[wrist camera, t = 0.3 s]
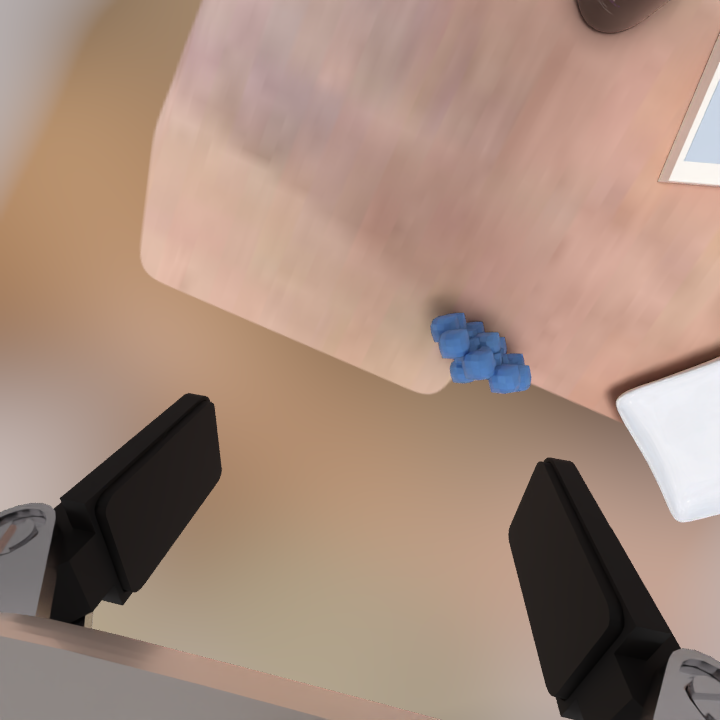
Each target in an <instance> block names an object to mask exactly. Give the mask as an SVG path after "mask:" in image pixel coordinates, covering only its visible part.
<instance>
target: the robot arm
mask: <svg viewBox="0 0 720 720" xmlns="http://www.w3.org/2000/svg"><path fill="white" fill-rule="evenodd" d="M221 471H222V468H221V459H220V451H219V442H218V433H217V425H216V416H215V408H214V404H213V403H212V402H210V400H209V398H208V397H206V396H201V395H196V394H191V393H188V394H185V395H184V396H182V397H181V398H180V399H179V400H178V401H176V402H175V403H174V404H173V405H172V406H170V407H169V408H168V409H167V410H166V411H164V412H163V413H162V414H161V415H159V416H158V417H157V418H156V419H155V420H153V421H152V422H151V423H150V424H149V425H147V426H146V427H145V428H144V429H143V430H141V431H140V432H139V433H138V434H137V435H136V436H134V437H133V438H132V439H131V440H129V441H128V442H127V443H126V444H125V445H123V446H122V447H121V448H120V449H119V450H118V451H116V452H115V453H114V454H113V455H111V456H110V457H109V458H108V459H107V460H105V461H104V462H103V463H102V464H100V465H99V466H98V467H97V468H96V469H94V470H93V471H92V472H91V473H90V474H88V475H87V476H86V477H85V478H84V479H82V480H81V481H80V482H79V483H78V484H76V485H75V486H74V487H73V488H72V489H71V490H69V491H68V492H67V493H66V494H64V495H63V496H62V497H61V498H60V500H61V503H60V504H59V505H58V506H56V507H55V508H54V509H53V508H52V507H51V506H50V505H46V504H44V503H29V504H24V505H18V506H15V507H13V508H10V509H7V510H4V511H2V512H0V720H441V719H437V718H433V717H429V716H426V715H422V714H418V713H415V712H411V711H407V710H403V709H400V708H396V707H392V706H389V705H385V704H381V703H377V702H374V701H370V700H366V699H362V698H359V697H355V696H351V695H347V694H343V693H340V692H336V691H332V690H328V689H324V688H321V687H317V686H313V685H309V684H306V683H302V682H298V681H294V680H290V679H286V678H283V677H279V676H275V675H271V674H267V673H264V672H259V671H256V670H252V669H248V668H244V667H241V666H237V665H233V664H229V663H226V662H222V661H218V660H214V659H210V658H206V657H202V656H198V655H194V654H190V653H187V652H183V651H179V650H175V649H171V648H167V647H163V646H159V645H156V644H152V643H148V642H144V641H140V640H136V639H132V638H128V637H124V636H120V635H116V634H112V633H107V632H103V631H99V630H95V629H92V620H93V611H94V609H95V608H96V607H97V606H98V604H99V603H100V602H101V600H104V601H107V602H111V603H115V604H119V605H124V603H125V602H126V601H127V599H128V598H129V596H130V595H131V594H132V592H137V591H138V590H140V589H141V588H142V586H143V585H144V584H145V583H146V581H147V580H148V579H149V577H150V576H151V574H152V573H153V572H154V570H155V569H156V567H157V566H158V565H159V563H160V562H161V560H162V559H163V558H164V556H165V555H166V553H167V552H168V551H169V549H170V547H171V546H172V545H173V544H174V542H175V541H176V539H177V538H178V537H179V535H180V534H181V532H182V531H183V530H184V528H185V527H186V526H187V524H188V523H189V521H190V520H191V519H192V517H193V516H194V514H195V513H196V511H197V510H198V509H199V507H200V506H201V505H202V503H203V502H204V500H205V499H206V498H207V496H208V495H209V493H210V492H211V491H212V489H213V488H214V486H215V485H216V484H217V482H218V481H219V479H220V476H221ZM509 543H510V547H511V551H512V555H513V558H514V563H515V567H516V570H517V574H518V578H519V582H520V586H521V590H522V593H523V598H524V602H525V606H526V610H527V614H528V617H529V621H530V625H531V629H532V633H533V637H534V641H535V645H536V649H537V652H538V656H539V661H540V664H541V668H542V672H543V676H544V680H545V684H546V687H547V689H548V692H549V693H550V694H551V696H554V697H556V700H557V704H558V708H559V711H560V715H561V717H565V718H569V719H573V720H720V662H719V661H717V660H715V659H714V658H712V657H711V656H708V655H706V654H703V653H701V652H699V651H696V650H691V649H684V648H682V649H681V648H680V646H679V644H678V643H677V641H676V639H675V637H674V636H673V634H672V632H671V630H670V629H669V627H668V625H667V624H666V622H665V620H664V619H663V617H662V615H661V613H660V611H659V610H658V608H657V607H656V604H655V603H654V601H653V599H652V597H651V596H650V594H649V592H648V591H647V589H646V587H645V586H644V584H643V582H642V580H641V579H640V577H639V575H638V573H637V571H636V570H635V568H634V566H633V565H632V563H631V561H630V559H629V558H628V556H627V554H626V552H625V551H624V549H623V547H622V546H621V544H620V542H619V540H618V538H617V537H616V535H615V533H614V532H613V530H612V529H611V527H610V526H609V524H608V522H607V520H606V518H605V517H604V515H603V513H602V511H601V510H600V508H599V507H598V505H597V503H596V501H595V499H594V498H593V496H592V494H591V493H590V491H589V489H588V487H587V485H586V484H585V482H584V481H583V478H582V477H581V475H580V473H579V471H578V470H577V468H576V466H575V465H574V464H573V462H571V461H566V460H560V459H555V458H546V459H545V460H544V462H538V463H537V465H536V467H535V470H534V472H533V474H532V476H531V479H530V481H529V484H528V486H527V488H526V490H525V493H524V495H523V497H522V500H521V502H520V504H519V507H518V509H517V511H516V514H515V516H514V519H513V521H512V523H511V525H510V528H509Z"/></svg>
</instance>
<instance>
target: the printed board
mask: <svg viewBox="0 0 720 720" xmlns="http://www.w3.org/2000/svg"><path fill="white" fill-rule="evenodd" d="M658 182H668V183H680V184H691V185H703V186H715V187H720V34H719V36H718V38H717V41H716V43H715V46H714V48H713V50H712V53H711V55H710V58H709V60H708V62H707V65H706V67H705V70H704V72H703V74H702V77H701V79H700V81H699V84H698V86H697V89H696V91H695V93H694V96H693V98H692V101H691V103H690V105H689V108H688V110H687V113H686V115H685V117H684V120H683V122H682V124H681V127H680V129H679V132H678V134H677V136H676V139H675V141H674V144H673V146H672V148H671V151H670V153H669V156H668V158H667V160H666V163H665V165H664V167H663V170H662V172H661V175H660V177H659V179H658Z"/></svg>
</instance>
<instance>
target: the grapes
mask: <svg viewBox="0 0 720 720" xmlns="http://www.w3.org/2000/svg"><path fill="white" fill-rule="evenodd" d="M430 327H431V333H432V336H433V339H434V342H438V343H439V349H440V352H441V355H442V358H450V359H454V361H453V362H452V363H451V366H450V373H451V377H452V380H453V382H455V383H470V382H472V381H474V380H484V379H487V380H489V386H490V389H491V392H494V393H503V394H506V393H511V392H518V391H524V390H527V389H528V388H529V386H530V383H531V372H530V368H529V366H528V365H525V363H524V358H523V354H515V353H509V354H506V352H507V346H506V341H505V337H499V333H498V332H485V330H484V325H483V322H468V323H466V318H465V315H464V313H451V314H446V315H443V316H438V317H436V318H435V319H433V321H432V323H431V326H430Z"/></svg>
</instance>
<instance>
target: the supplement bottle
mask: <svg viewBox="0 0 720 720" xmlns="http://www.w3.org/2000/svg"><path fill="white" fill-rule="evenodd" d="M668 1H670V0H578V6H579V9H580V12H581V14H582V16H583V18H584V20H585V21H586V22H587V23H588V24H589V25H590V26H591V27H592V28H594V29H596V30H598V31H601V32H606V33H614V32H620V31H624V30H627V29H629V28H631V27H633V26H635V25H637V24H639V23H640V22H642V21H643V20H645V19H646V18H647V17H649V16H650V15H651V14H653V13H654V12H655V11H657V10H658V9H659V8H661V7H662V6H663V5H665V4H666V3H667V2H668Z"/></svg>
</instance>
